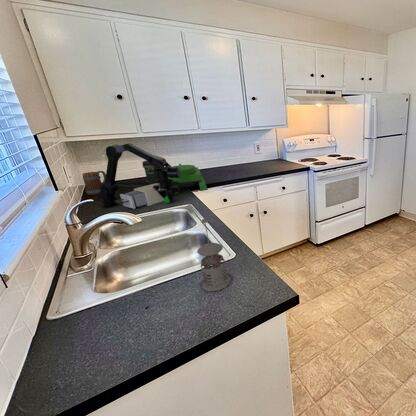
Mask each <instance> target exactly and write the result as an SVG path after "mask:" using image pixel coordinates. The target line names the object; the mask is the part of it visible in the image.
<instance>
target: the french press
mask: <svg viewBox="0 0 416 416" xmlns="http://www.w3.org/2000/svg"><path fill="white" fill-rule="evenodd" d="M208 222H209V220H208V219H207V218H202V219H201V223H202V224H204V227H205V232H206V237H207V243H205V244H203V245H202V246H200V247H199V248H198V249H197V251H196V252H197V254H198V255H199V256H202V257H203V258H202V259H201V260H200V269H201V274H202V278H203V279H202V280H203V282H202V283H201V288H202V289H203V290H204V291H207V292H216V291H220V290H223V289H224V288H226V287H227V286H228V285H230V283H231V281H232V279H231V276H229V275H228V272H227V265H226V261H225V258H224V256H223V255H222V254H219V253H221V251H222V250H223V248H224V246H223V245H222V244H221V243H218V242H210V240H209V239H210V238H209V234H208V228H207V223H208ZM211 266H212V267H211ZM226 280H227V281H226Z"/></svg>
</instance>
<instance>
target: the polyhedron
mask: <svg viewBox="0 0 416 416" xmlns="http://www.w3.org/2000/svg"><path fill="white" fill-rule="evenodd" d="M163 202H165V203H166V204H171V203H172V202H170V200H169V199H168V197H167V196H166V197H165V198H164V201H163Z"/></svg>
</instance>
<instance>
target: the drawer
mask: <svg viewBox="0 0 416 416" xmlns="http://www.w3.org/2000/svg"><path fill="white" fill-rule="evenodd" d="M119 196H120V199H117V200H115V202H116V203H117V204H120V205H122V206H123V207H126V208H128V209H129V208H130V209H133V210H135V209H136V208H138V207H142V206H146V205H145V204H148V203H147V199H146V195H145V192H140V191H134V190H132V191H129V192H125V193H124V194H123V193H120V194H119Z"/></svg>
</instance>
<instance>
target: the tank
mask: <svg viewBox="0 0 416 416" xmlns="http://www.w3.org/2000/svg"><path fill="white" fill-rule="evenodd" d="M171 167H178V168H179V169H180V171H181V177H180V178H170V177H169V179H173V181H177V182H179V184H182V183H188V182H189V183H190V182H196V183H197V185H198V187H199V190H200V191H201V192H203V191H208V187H207V184H206V180H205V178H204V177H203V174H202V173H201V171H200V168H199V167H197V166H195V165H193V164H182V163H178V165H173V166H172V165H171ZM173 187H178V186H173ZM170 188H171V187H170ZM179 194H180V191H179V192H176V193H174V196H176V195H179Z"/></svg>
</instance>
